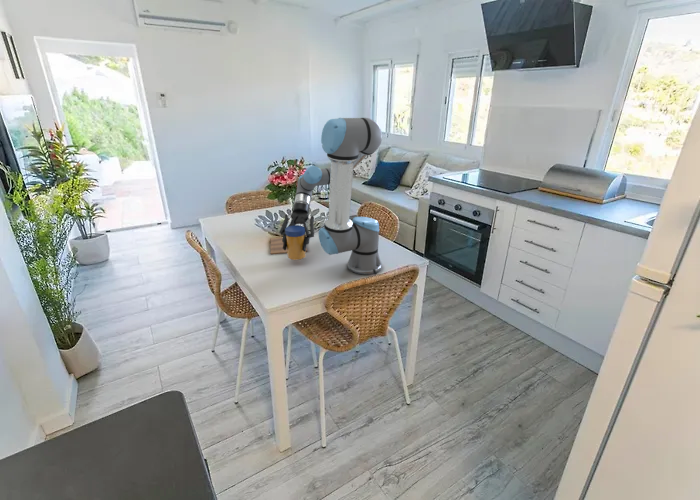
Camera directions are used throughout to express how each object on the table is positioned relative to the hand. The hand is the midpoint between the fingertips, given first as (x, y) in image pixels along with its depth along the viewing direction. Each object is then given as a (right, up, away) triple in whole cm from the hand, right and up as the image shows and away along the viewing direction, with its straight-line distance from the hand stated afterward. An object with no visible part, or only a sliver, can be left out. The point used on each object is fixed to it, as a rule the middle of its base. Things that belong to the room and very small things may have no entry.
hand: (294, 249), depth 157 cm
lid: (0, +9, 0) cm, 9 cm away
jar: (0, -3, +5) cm, 6 cm away
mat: (-7, +2, +24) cm, 26 cm away
